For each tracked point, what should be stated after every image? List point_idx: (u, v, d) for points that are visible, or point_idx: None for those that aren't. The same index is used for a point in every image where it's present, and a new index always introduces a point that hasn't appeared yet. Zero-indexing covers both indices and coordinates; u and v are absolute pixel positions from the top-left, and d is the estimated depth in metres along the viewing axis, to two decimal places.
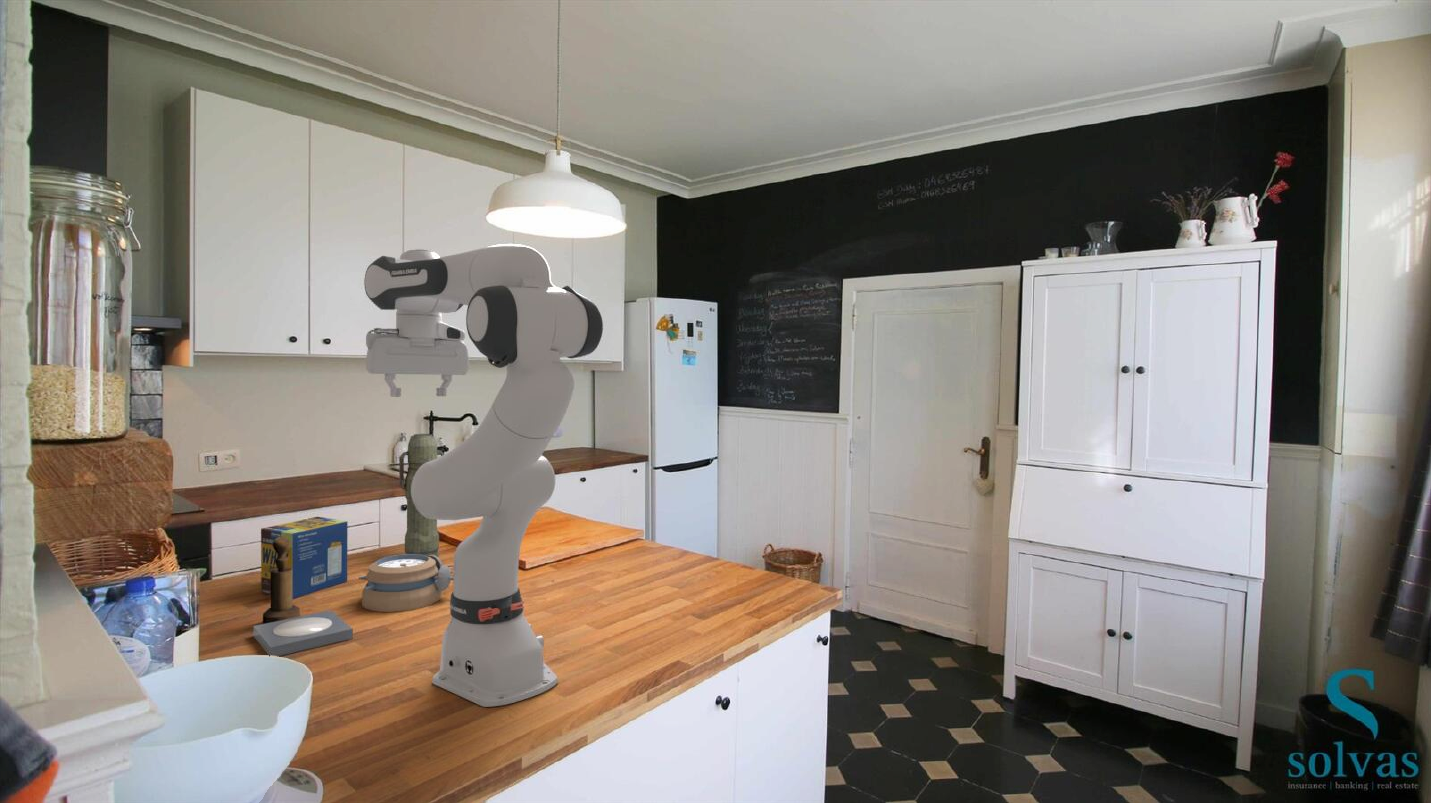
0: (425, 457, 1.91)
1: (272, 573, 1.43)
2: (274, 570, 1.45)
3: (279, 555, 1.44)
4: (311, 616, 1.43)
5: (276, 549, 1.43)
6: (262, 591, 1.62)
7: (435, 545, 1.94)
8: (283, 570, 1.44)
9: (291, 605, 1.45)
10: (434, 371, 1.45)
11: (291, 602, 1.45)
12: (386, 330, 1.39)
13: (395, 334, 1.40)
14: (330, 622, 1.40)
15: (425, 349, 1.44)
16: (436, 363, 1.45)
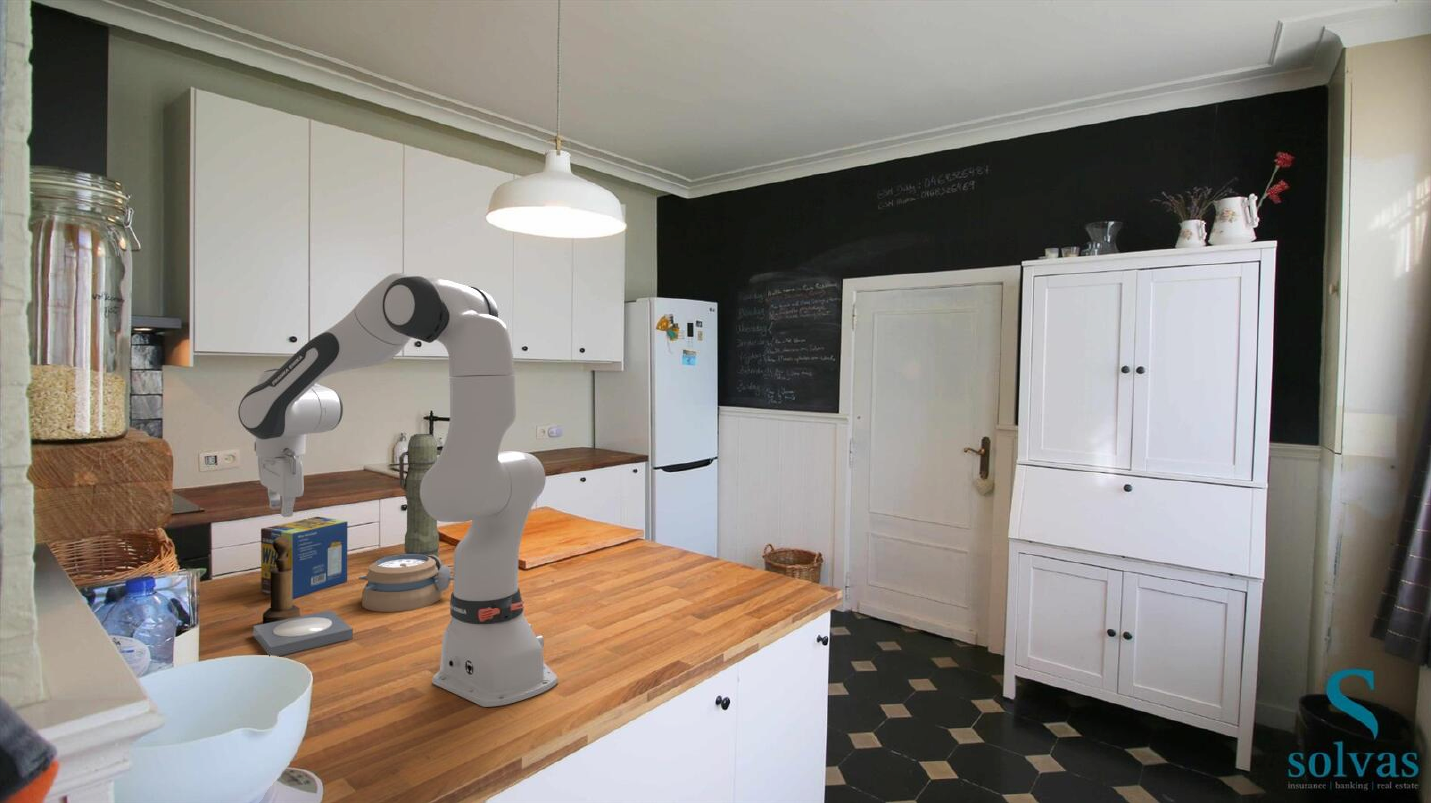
0: (425, 457, 1.91)
1: (272, 573, 1.43)
2: (274, 570, 1.45)
3: (279, 555, 1.44)
4: (311, 616, 1.43)
5: (276, 549, 1.43)
6: (262, 591, 1.62)
7: (435, 545, 1.94)
8: (283, 570, 1.44)
9: (291, 605, 1.45)
10: None
11: (291, 602, 1.45)
12: None
13: None
14: (330, 622, 1.40)
15: None
16: None
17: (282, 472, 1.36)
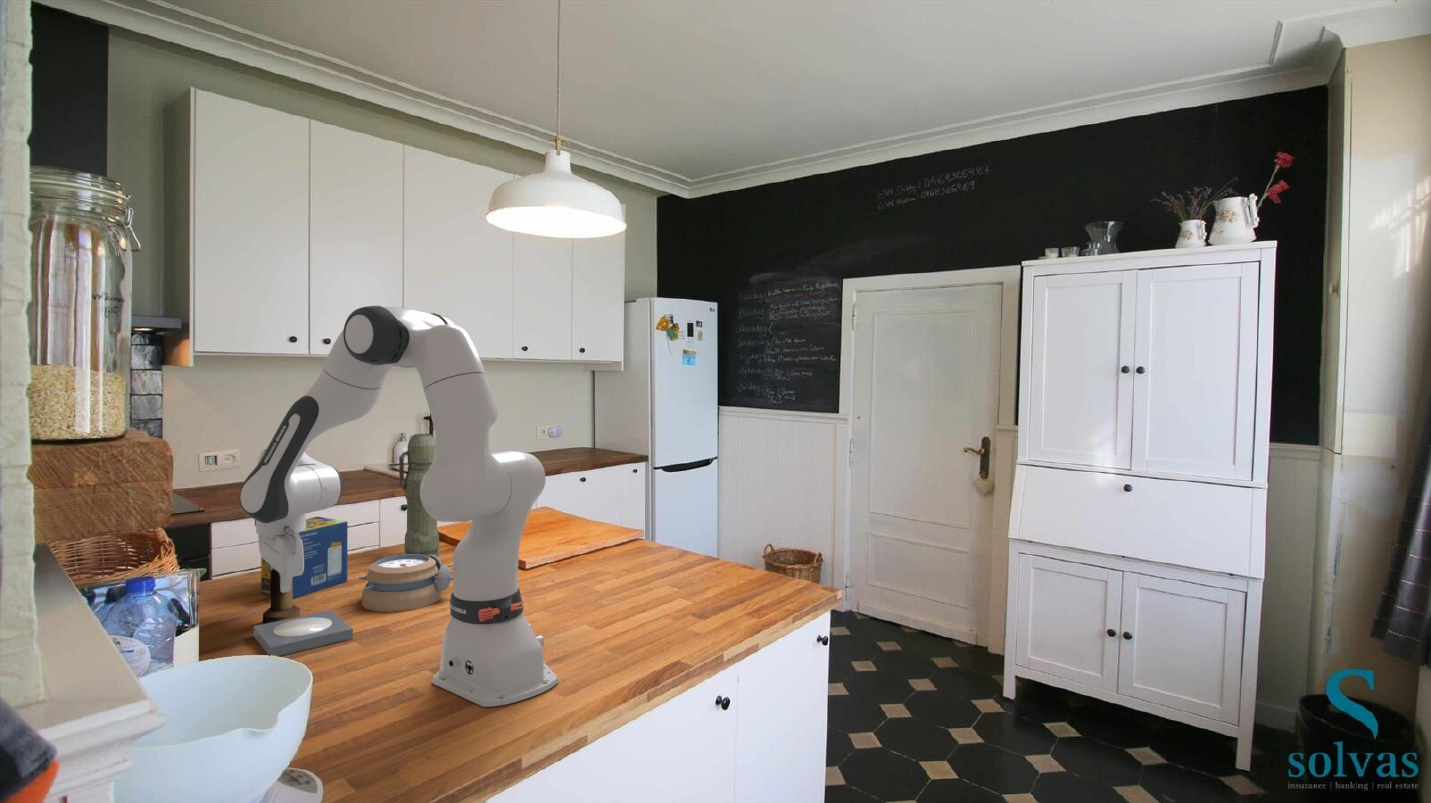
0: (425, 457, 1.91)
1: (272, 573, 1.43)
2: (274, 570, 1.45)
3: None
4: (311, 616, 1.43)
5: None
6: (262, 591, 1.62)
7: (435, 545, 1.94)
8: None
9: (291, 605, 1.45)
10: None
11: (291, 602, 1.45)
12: None
13: None
14: (330, 622, 1.40)
15: None
16: None
17: (282, 552, 1.37)
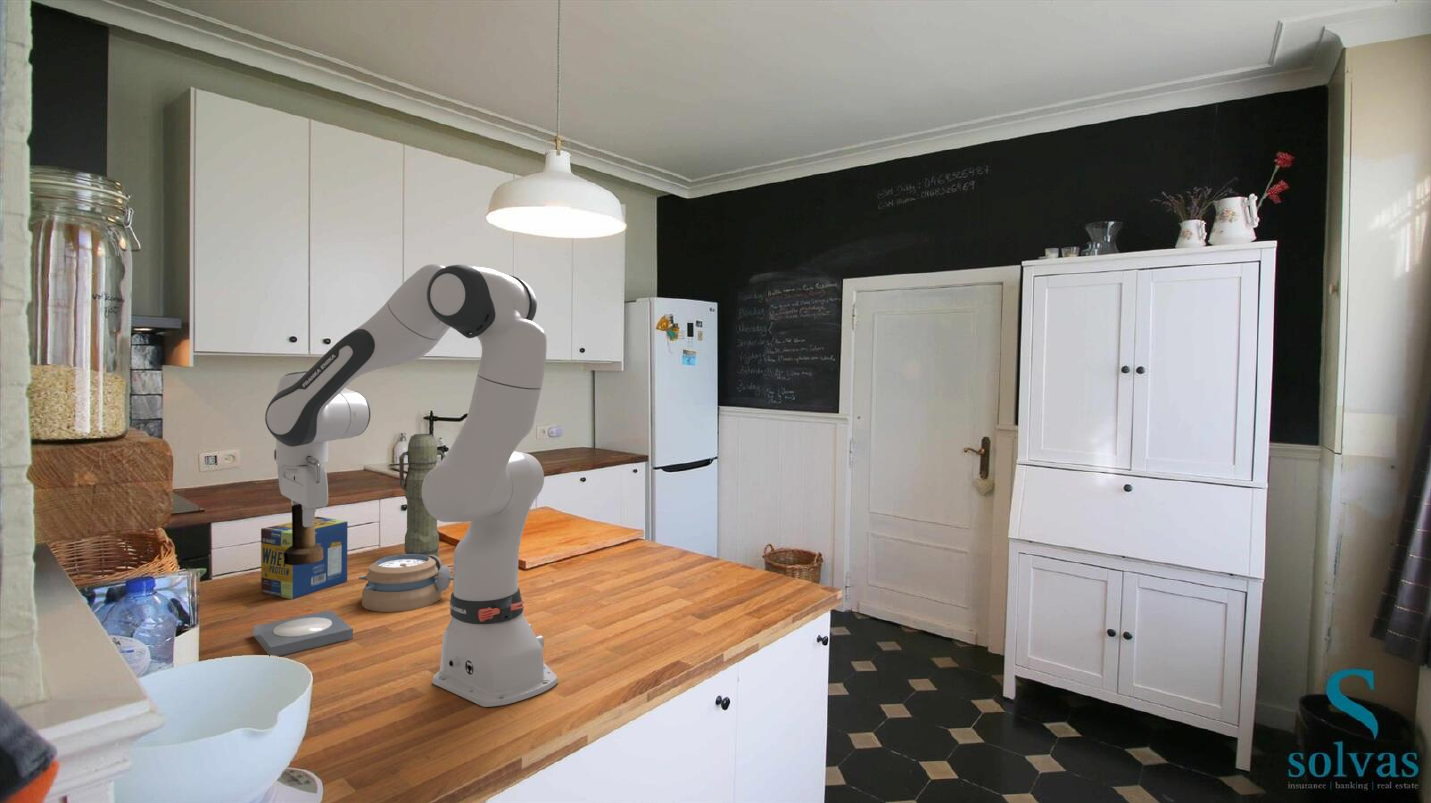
0: (425, 457, 1.91)
1: (293, 508, 1.34)
2: (295, 506, 1.36)
3: None
4: (311, 616, 1.43)
5: None
6: (262, 591, 1.62)
7: (435, 545, 1.94)
8: None
9: (314, 543, 1.37)
10: None
11: (314, 540, 1.37)
12: None
13: None
14: (330, 622, 1.40)
15: None
16: None
17: (305, 481, 1.28)
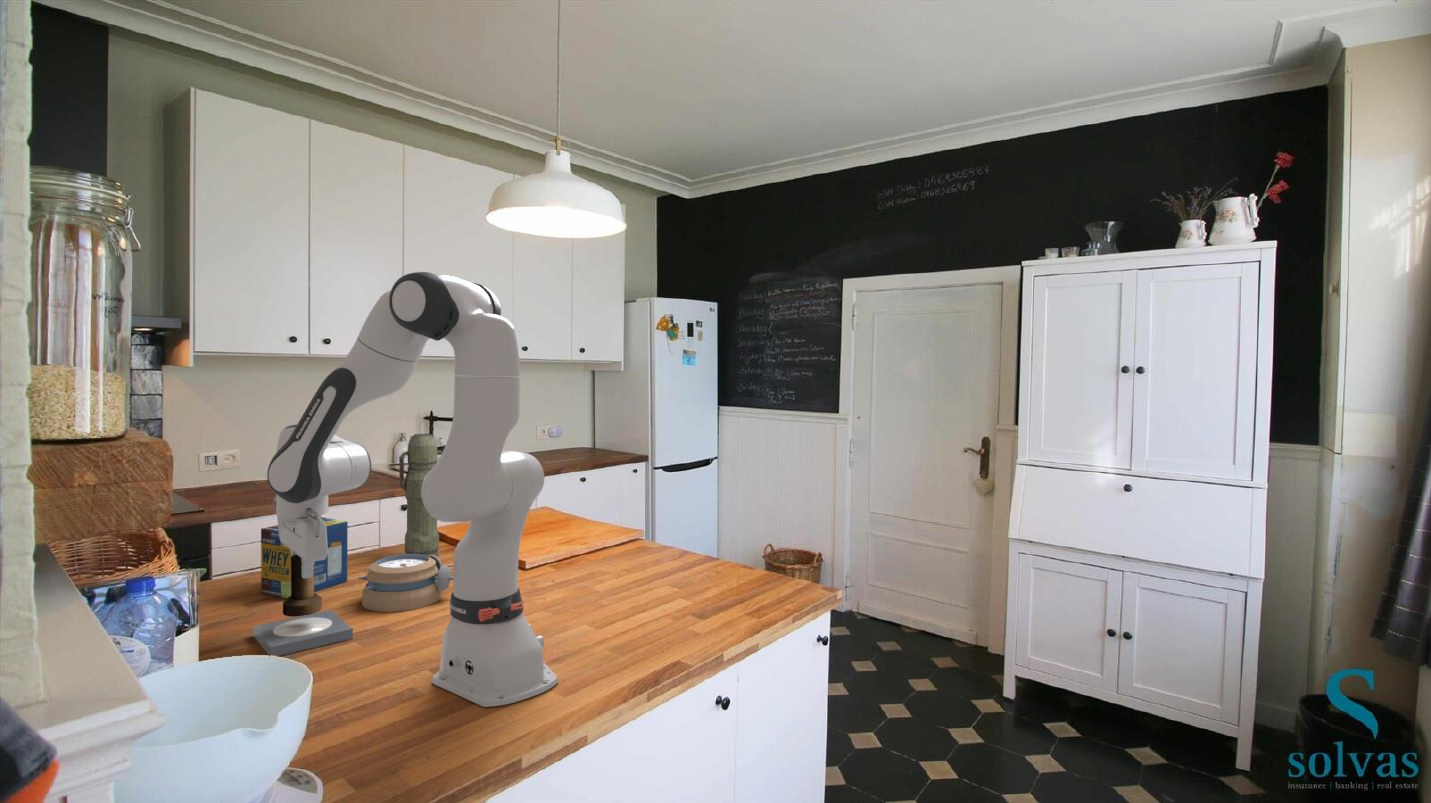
0: (425, 457, 1.91)
1: (293, 559, 1.35)
2: (295, 556, 1.37)
3: None
4: (311, 616, 1.43)
5: None
6: (262, 591, 1.62)
7: (435, 545, 1.94)
8: None
9: (312, 593, 1.37)
10: None
11: (312, 590, 1.37)
12: None
13: None
14: (330, 622, 1.40)
15: None
16: None
17: (305, 535, 1.29)
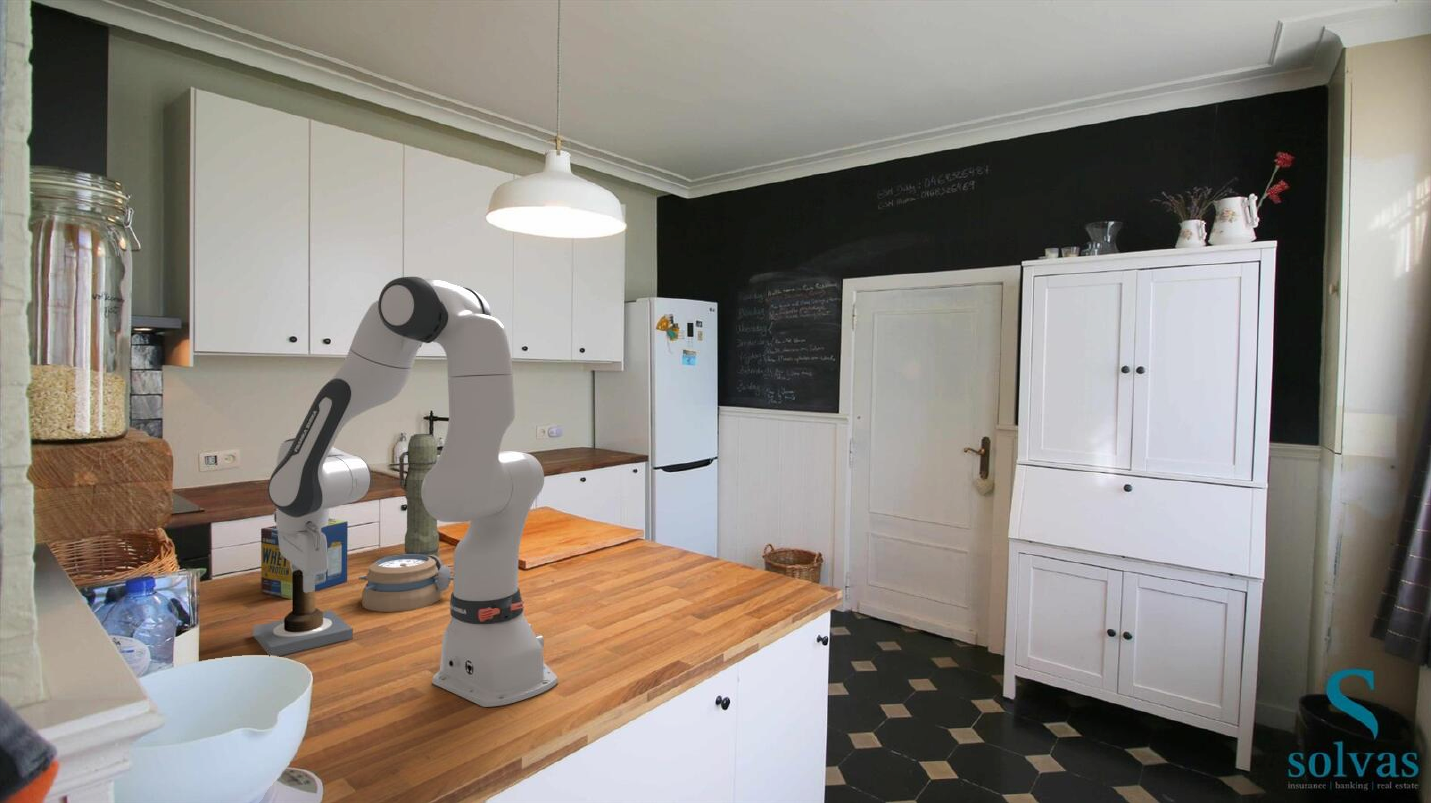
0: (425, 457, 1.91)
1: (294, 575, 1.35)
2: (296, 571, 1.37)
3: None
4: None
5: None
6: (262, 591, 1.62)
7: (435, 545, 1.94)
8: None
9: (314, 609, 1.37)
10: None
11: (314, 605, 1.37)
12: None
13: None
14: (330, 622, 1.40)
15: None
16: None
17: (305, 549, 1.29)
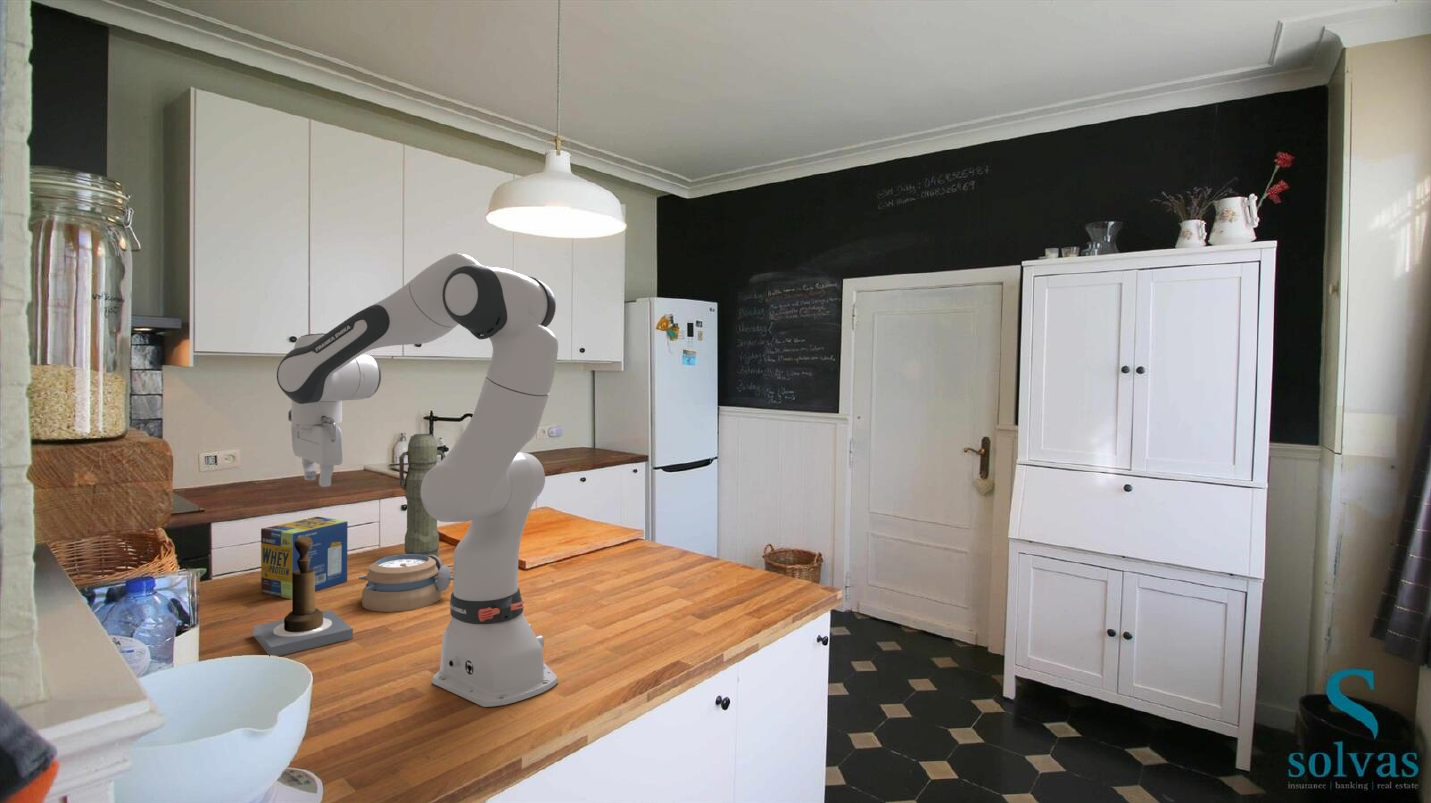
0: (425, 457, 1.91)
1: (294, 575, 1.35)
2: (296, 571, 1.37)
3: (301, 556, 1.36)
4: None
5: (298, 549, 1.35)
6: (262, 591, 1.62)
7: (435, 545, 1.94)
8: (305, 572, 1.36)
9: (314, 609, 1.37)
10: None
11: (314, 605, 1.37)
12: None
13: None
14: (330, 622, 1.40)
15: None
16: None
17: (321, 439, 1.32)
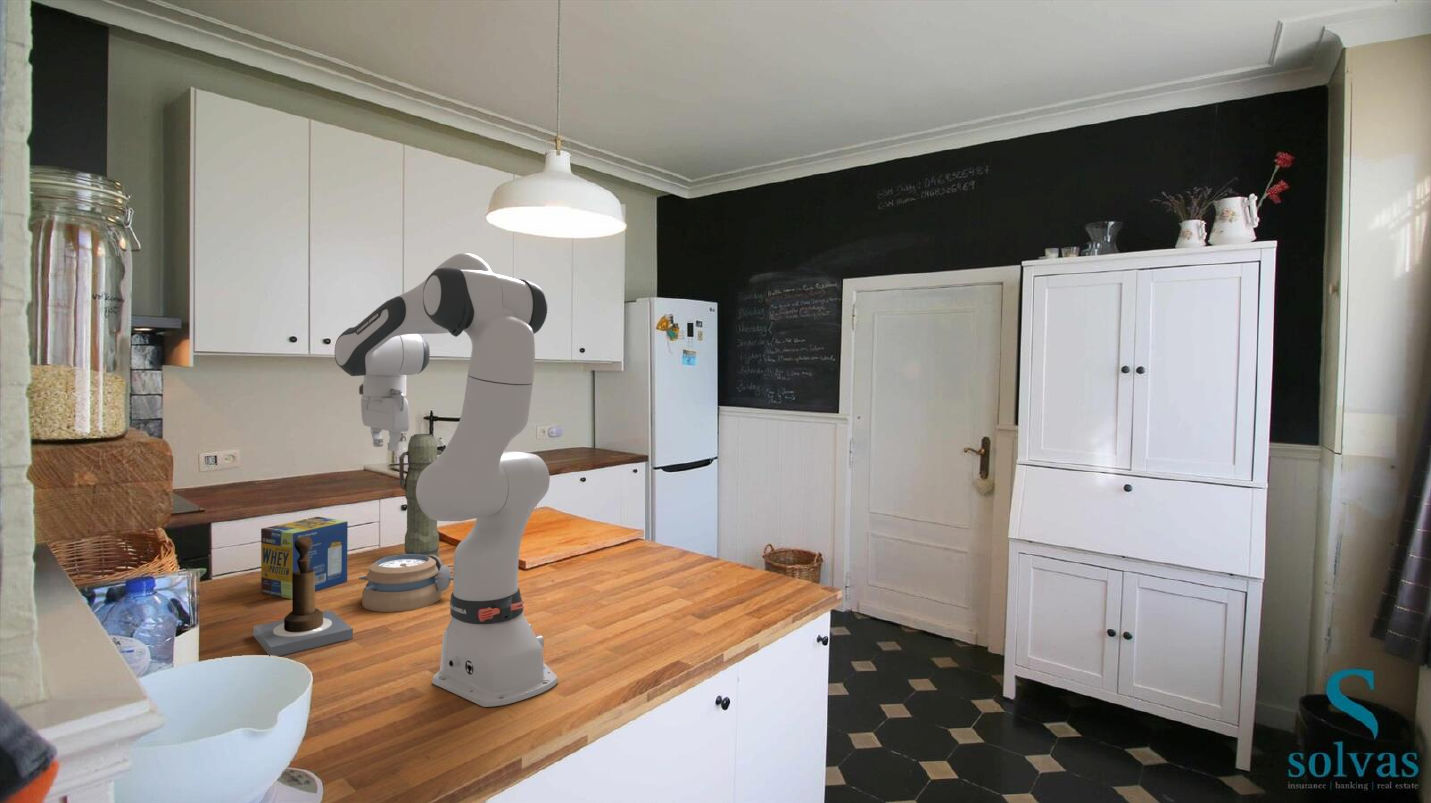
0: (425, 457, 1.91)
1: (294, 575, 1.35)
2: (296, 571, 1.37)
3: (301, 556, 1.36)
4: None
5: (298, 549, 1.35)
6: (262, 591, 1.62)
7: (435, 545, 1.94)
8: (305, 572, 1.36)
9: (314, 609, 1.37)
10: None
11: (314, 605, 1.37)
12: None
13: None
14: (330, 622, 1.40)
15: None
16: None
17: (391, 409, 1.51)
